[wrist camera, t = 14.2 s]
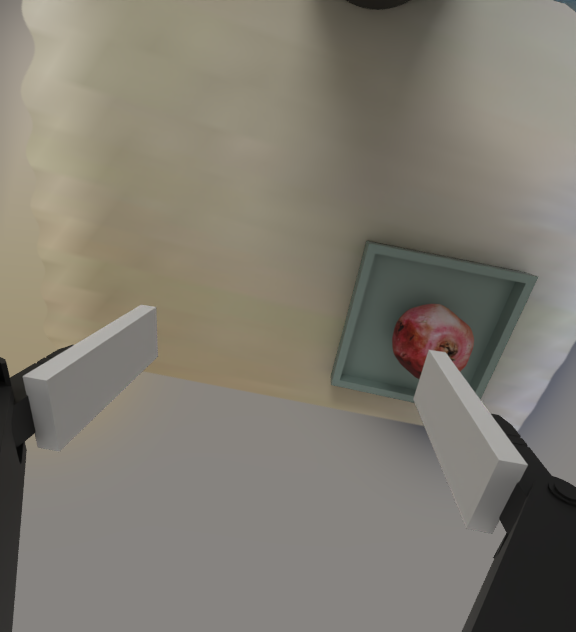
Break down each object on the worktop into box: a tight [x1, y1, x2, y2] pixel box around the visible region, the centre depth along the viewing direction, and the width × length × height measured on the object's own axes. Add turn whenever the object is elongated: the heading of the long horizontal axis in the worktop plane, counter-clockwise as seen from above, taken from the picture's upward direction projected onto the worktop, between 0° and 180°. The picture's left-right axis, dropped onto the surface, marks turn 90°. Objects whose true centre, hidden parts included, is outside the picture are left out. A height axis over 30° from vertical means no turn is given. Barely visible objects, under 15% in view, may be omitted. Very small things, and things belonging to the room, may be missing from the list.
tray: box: [331, 241, 538, 403], centre depth 43 cm, size 20×20×2 cm
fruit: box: [392, 304, 474, 379], centre depth 39 cm, size 9×10×10 cm
